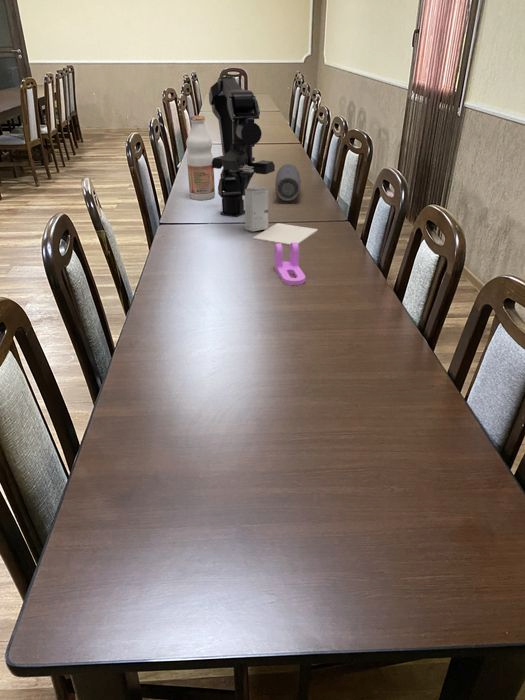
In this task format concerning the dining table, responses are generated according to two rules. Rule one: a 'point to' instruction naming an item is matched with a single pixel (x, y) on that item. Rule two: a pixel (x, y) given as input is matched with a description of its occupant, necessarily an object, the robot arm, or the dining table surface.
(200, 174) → the fruit juice
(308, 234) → the rubber mat
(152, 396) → the dining table surface
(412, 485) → the dining table surface
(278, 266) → the bracket
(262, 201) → the skincare box
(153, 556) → the dining table surface
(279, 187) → the bluetooth speaker
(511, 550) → the dining table surface
